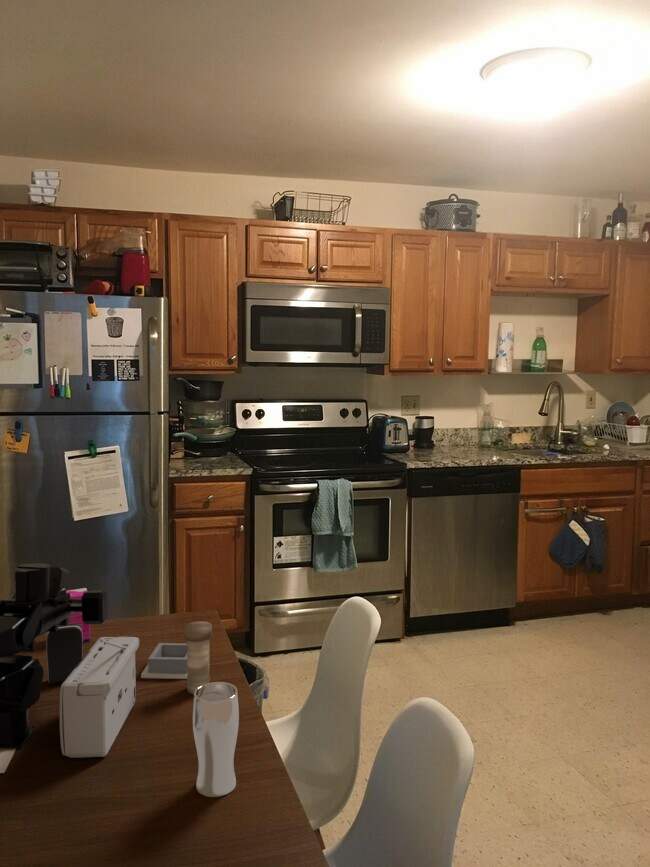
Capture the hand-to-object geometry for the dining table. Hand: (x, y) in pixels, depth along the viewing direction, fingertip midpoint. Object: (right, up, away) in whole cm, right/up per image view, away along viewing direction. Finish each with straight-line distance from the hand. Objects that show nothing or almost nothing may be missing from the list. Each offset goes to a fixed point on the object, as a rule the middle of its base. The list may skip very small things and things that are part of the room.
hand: (79, 597), depth 139 cm
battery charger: (-3, -17, -1) cm, 17 cm away
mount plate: (+19, -16, +5) cm, 25 cm away
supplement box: (-8, -15, +20) cm, 26 cm away
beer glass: (+35, -20, -37) cm, 54 cm away
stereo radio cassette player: (+12, -19, -20) cm, 30 cm away
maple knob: (+26, -17, -5) cm, 32 cm away
